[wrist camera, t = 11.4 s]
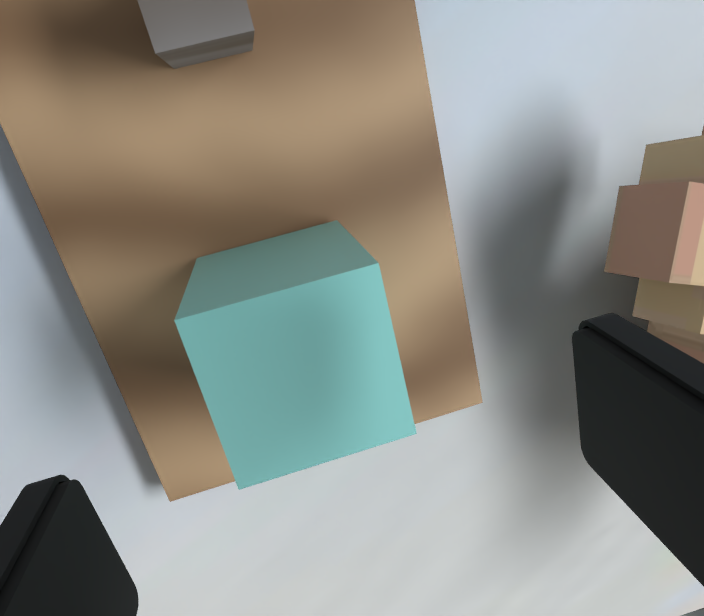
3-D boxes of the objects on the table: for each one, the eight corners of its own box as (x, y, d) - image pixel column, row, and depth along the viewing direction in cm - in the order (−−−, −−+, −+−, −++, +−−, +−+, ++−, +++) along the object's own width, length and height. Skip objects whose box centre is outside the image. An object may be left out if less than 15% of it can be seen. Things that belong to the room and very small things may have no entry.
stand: (-88, -110, 16) (-235, -215, 11) (368, -200, 17) (416, -329, 12) (173, 483, 23) (154, 576, 19) (471, 390, 25) (526, 453, 20)
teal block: (197, 258, 19) (174, 320, 13) (336, 220, 20) (378, 263, 13) (240, 383, 21) (238, 489, 15) (367, 345, 21) (416, 433, 15)
